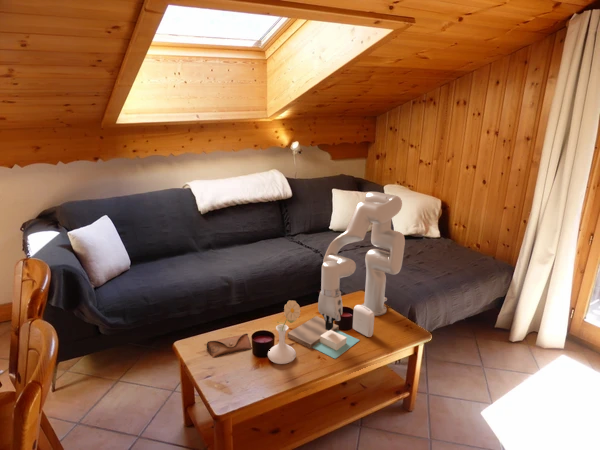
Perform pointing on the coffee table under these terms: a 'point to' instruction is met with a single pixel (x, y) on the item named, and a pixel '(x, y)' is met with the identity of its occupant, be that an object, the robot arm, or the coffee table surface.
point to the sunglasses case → (228, 345)
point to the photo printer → (363, 320)
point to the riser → (310, 332)
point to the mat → (337, 353)
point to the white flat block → (333, 339)
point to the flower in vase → (282, 350)
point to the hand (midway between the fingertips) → (329, 328)
